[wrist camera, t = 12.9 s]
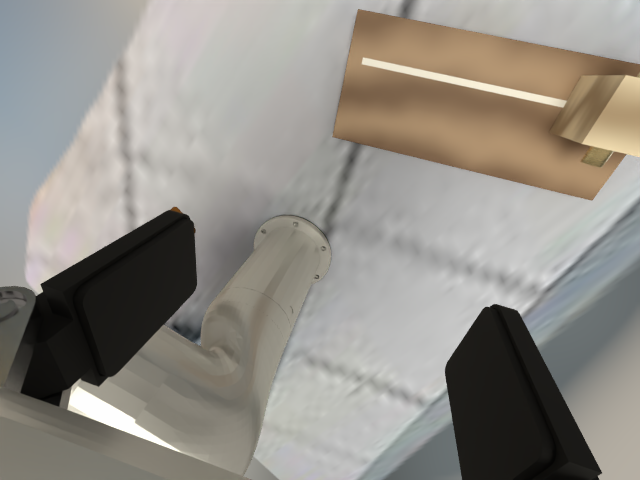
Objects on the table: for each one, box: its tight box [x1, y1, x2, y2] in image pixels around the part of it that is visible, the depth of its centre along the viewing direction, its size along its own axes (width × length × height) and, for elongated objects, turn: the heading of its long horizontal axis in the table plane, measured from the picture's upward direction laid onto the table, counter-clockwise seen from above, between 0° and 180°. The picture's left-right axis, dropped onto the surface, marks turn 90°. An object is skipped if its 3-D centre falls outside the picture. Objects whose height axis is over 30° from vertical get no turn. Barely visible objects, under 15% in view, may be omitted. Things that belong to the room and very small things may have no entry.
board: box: [332, 9, 640, 200], centre depth 30 cm, size 12×29×2 cm, turn 79°
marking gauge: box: [549, 72, 640, 168], centre depth 25 cm, size 8×5×6 cm, turn 169°
